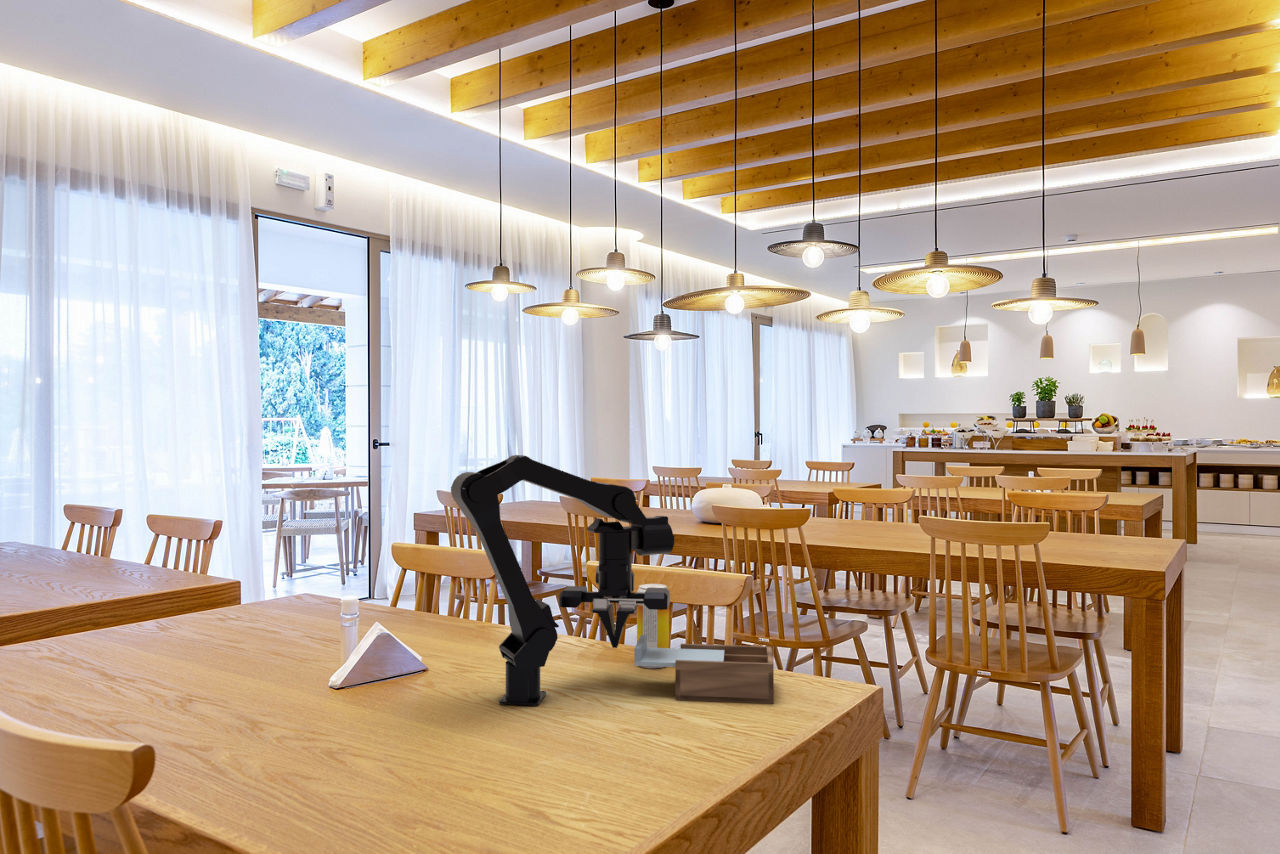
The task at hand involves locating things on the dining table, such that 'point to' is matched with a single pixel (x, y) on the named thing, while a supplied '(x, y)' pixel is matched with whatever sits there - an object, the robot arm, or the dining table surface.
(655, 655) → the lid
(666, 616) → the beer can
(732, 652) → the walnut box
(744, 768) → the dining table surface
